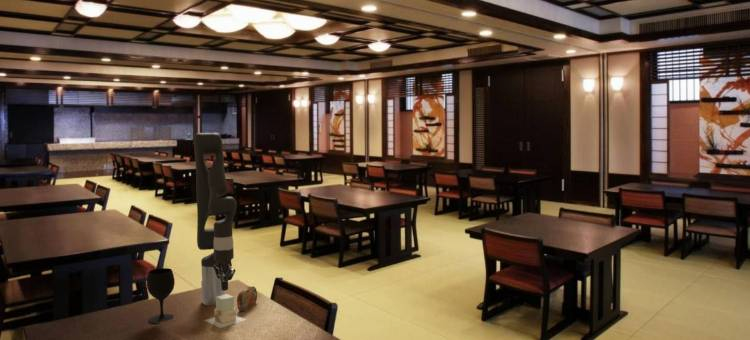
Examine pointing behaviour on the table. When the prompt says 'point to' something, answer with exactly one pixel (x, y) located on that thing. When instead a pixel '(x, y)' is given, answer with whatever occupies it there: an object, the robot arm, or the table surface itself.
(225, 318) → the maple block
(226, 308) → the sage block
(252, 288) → the tin
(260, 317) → the table surface
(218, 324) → the light grey flat piece
